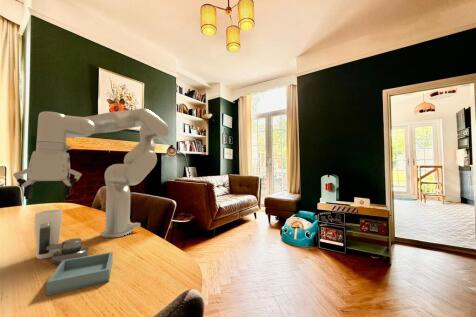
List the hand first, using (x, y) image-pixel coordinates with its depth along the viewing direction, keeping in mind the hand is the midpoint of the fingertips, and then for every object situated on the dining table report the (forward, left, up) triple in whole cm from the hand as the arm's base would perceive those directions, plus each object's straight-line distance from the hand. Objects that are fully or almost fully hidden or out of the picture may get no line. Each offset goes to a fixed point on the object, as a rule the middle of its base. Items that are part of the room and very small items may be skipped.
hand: (48, 197), depth 68 cm
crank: (-5, +6, -17) cm, 19 cm away
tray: (-14, +21, -20) cm, 32 cm away
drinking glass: (0, 0, -20) cm, 20 cm away
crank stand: (-7, +3, -20) cm, 21 cm away
